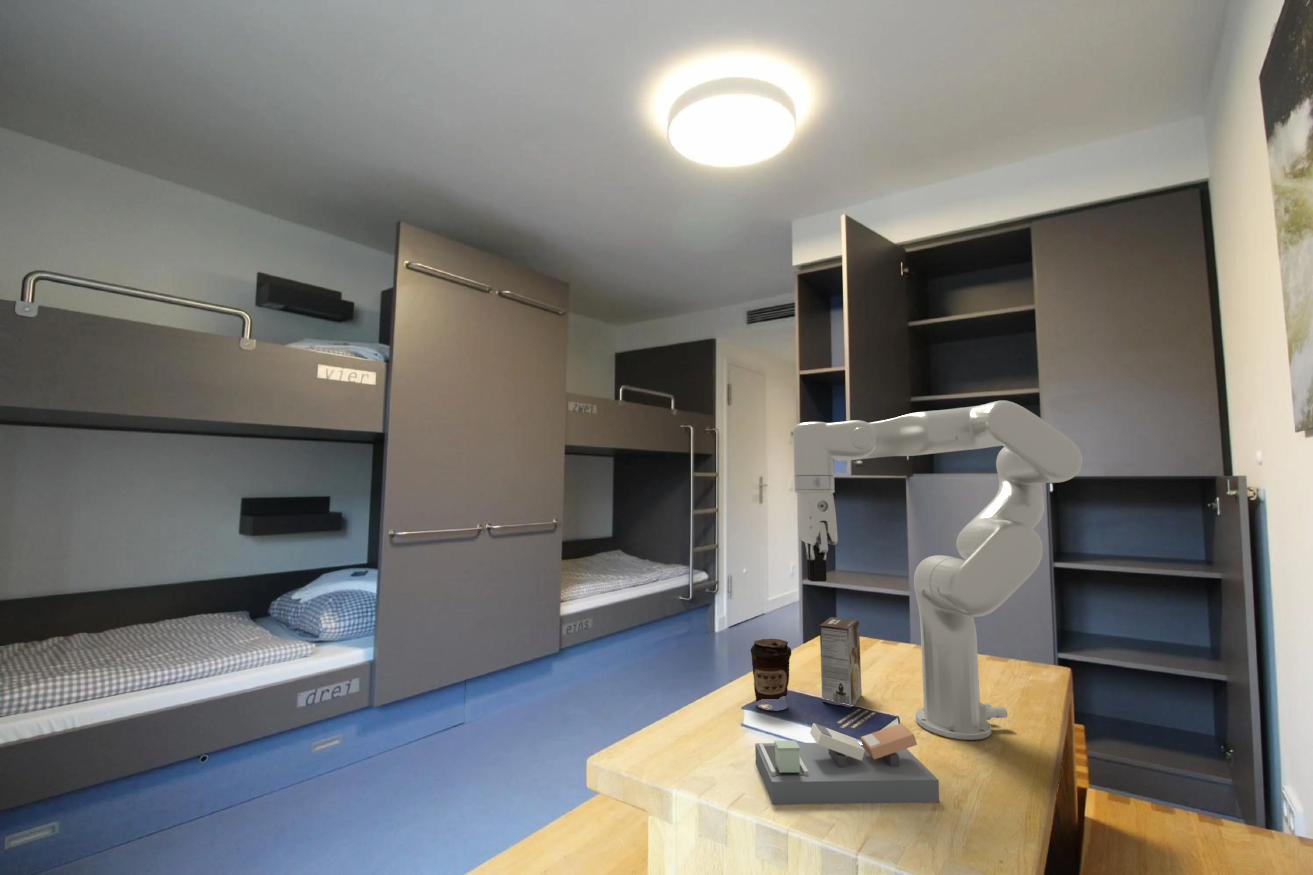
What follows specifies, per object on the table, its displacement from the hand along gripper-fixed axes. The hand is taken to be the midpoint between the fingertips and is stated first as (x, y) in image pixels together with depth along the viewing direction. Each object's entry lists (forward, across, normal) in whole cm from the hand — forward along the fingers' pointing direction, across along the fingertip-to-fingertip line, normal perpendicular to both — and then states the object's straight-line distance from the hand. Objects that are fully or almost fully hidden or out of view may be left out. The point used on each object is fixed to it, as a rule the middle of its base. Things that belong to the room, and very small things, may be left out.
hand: (817, 580), depth 106 cm
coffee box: (+27, +14, -9) cm, 32 cm away
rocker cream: (+21, -19, +4) cm, 29 cm away
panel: (+27, -19, +3) cm, 33 cm away
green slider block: (+24, -22, +12) cm, 34 cm away
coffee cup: (+27, +10, +7) cm, 30 cm away
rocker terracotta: (+21, -19, -4) cm, 29 cm away
